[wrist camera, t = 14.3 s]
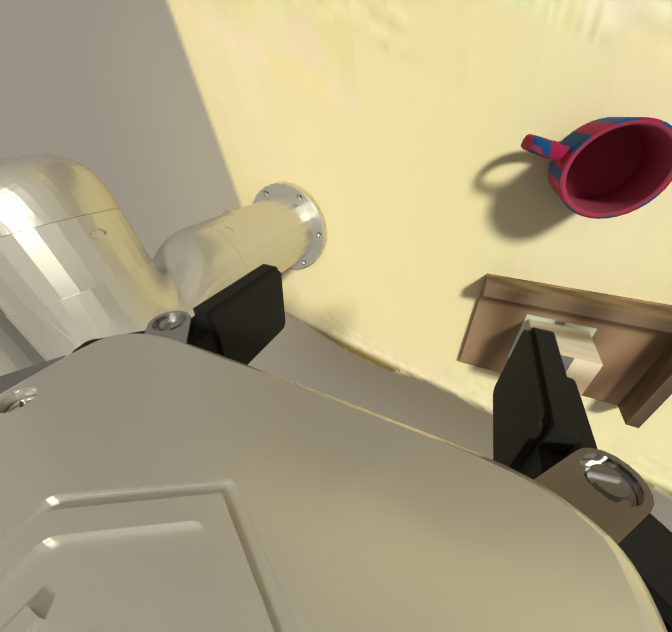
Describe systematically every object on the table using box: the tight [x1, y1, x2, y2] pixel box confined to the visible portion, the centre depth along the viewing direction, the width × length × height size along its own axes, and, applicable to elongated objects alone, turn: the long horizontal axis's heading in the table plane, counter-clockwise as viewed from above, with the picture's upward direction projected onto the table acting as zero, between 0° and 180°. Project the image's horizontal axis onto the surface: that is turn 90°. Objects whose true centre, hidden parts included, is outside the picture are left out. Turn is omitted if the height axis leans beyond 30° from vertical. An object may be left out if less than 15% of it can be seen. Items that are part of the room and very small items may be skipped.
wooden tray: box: [459, 274, 672, 428], centre depth 34 cm, size 20×14×4 cm
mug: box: [521, 117, 672, 219], centre depth 24 cm, size 7×10×7 cm
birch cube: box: [524, 319, 603, 396], centre depth 34 cm, size 6×6×6 cm
